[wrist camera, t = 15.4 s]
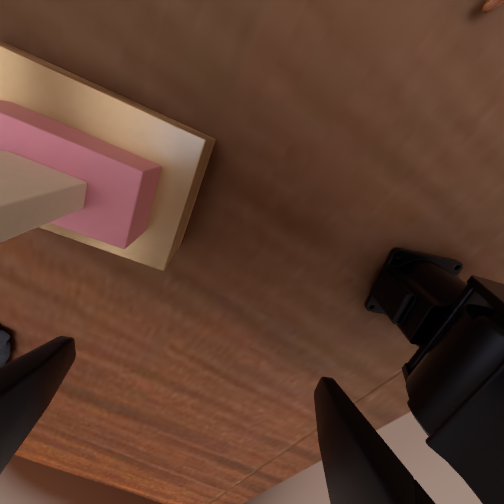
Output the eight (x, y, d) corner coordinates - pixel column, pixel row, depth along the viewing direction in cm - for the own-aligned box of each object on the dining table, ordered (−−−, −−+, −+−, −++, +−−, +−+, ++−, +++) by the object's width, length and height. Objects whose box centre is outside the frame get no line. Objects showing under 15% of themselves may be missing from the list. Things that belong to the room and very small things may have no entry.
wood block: (216, 139, 18) (206, 139, 14) (180, 245, 21) (163, 271, 17) (2, 41, 15) (-87, 6, 11) (1, 179, 19) (-68, 190, 15)
